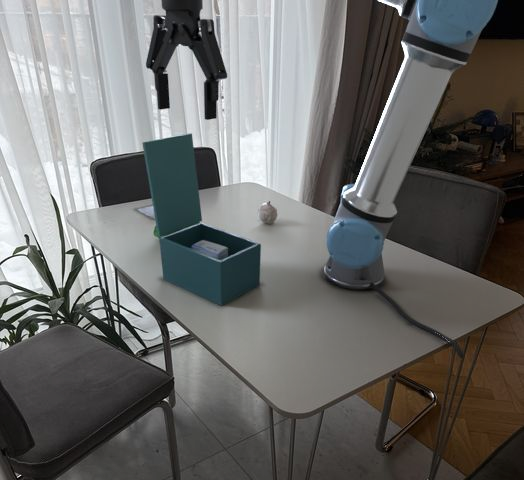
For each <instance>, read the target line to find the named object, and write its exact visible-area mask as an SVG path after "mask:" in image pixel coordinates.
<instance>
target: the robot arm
mask: <svg viewBox="0 0 524 480" xmlns="http://www.w3.org/2000/svg"><path fill="white" fill-rule="evenodd" d="M160 2H161V9H162V10H163V11H165V15H164V14H163V15H158V14H155V15H153V18H152V20H153V22H152V23H153V24H152V25H153V27H152V28H153V29H152V32H151V33H152V34H151V38H150V43H149V48H148V53H147V57H146V61H145V68H146V69H149V70H151V71H152V73H153V76H154V77H153V78H154V88H155V91H156V99H157V110H161V111H162V110H168V109H171V102H170V83H169V73H167V72H168V71H167V68H168V66H169V64H170V61H171V59H172V57H173V55H174V53H175V50H176V49H177V47H179V46H183V47H188V49H189V50H191V51H192V53H193V55H194V57H195V59H196V61H197V63H198V65H199V67H200V69H201V71H202V73H203V75H204V77H205V81H203V99H204V100H203V102H204V103H203V106H204V112H203V113H204V120H207V121H209V120H215V119H217V118H218V117H217V115H218V114H217V113H218V112H217V101H219V96H220V95H219V94H220V93H219V92H220V91H219V90H220V89H219V87H220V86H219V83H220V81H223V80H226V79H227V78H228V73H227V69H226V67H225V63H224V59H223V56H222V52H221V50H220V46H219V43H218V40H217V36H216V30H215V21H214V19H212V18H201V13H202V12H203V8H204V7H203V0H161V1H160ZM377 2H381V3H383V4H386V5H387V6H391V7H393V8H396V9H397V11H398V14H399V17H400V18H403V19H405V20H408V24H407V25H406V29H405V31H404V34H403V37H402V40H401V47H402V49H403V52H404V59H403V60H402V64H401V67H400V69H399V71H398V74H397V77H396V79H395V82H394V84H393V87H392V89H391V92H390V95H389V97H388V100H387V102H386V105H385V106H384V110H383V111H382V115H381V118H380V120H379V123H378V125H377V128H376V131H375V133H374V136H373V139H372V141H371V143H370V146H369V148H368V151H367V154H366V156H365V159H364V162H363V164H362V166H361V169H360V172H359V175H358V177H357V179H356V182H355V183H350V184H346V185H344V186H343V187H342V191H341V194H340V203H339V205H338V209H337V211H336V214H335V217H334V219H333V221H332V224H331V226H330V227H329V229H328V231H327V233H326V248H327V252H328V254H329V257H328V259H327V261H326V262H325V266H324V271H323V276H324V278H325V279H326V280H327V281H328V282H329V283H331V284H332V285H334V286H337V287H340V288H343V289H347V290H354V291H366V290H372V289H373V290H374V291H375V292H377V293H378V294H379V295H380V296H381V297H382V298H383V299H384V300H386V301H387V303H389V304H390V305H391V306H392V307H393V308H394V309H395V310H396V312H397V313H399V315H400V316H401V317H403V319H404V320H406V321H407V322H409V323H410V324H412V325H413V326H415V327H417V328H419V329H421V330H423V331H426V332H428V333H430V334H431V335H434V336H436V338H437V337H438V338H439V339H441V340H442V341H444V342H446V343H447V344H449V345H451V346H452V347H453V348H454V349H455V351H456V354H457V357H459V358H460V359H464V358H465V357H464V353H463V350H462V348H461V347H460V345H459V344H458V342H456V341H455V340H454V339H452V338H450V337H448V336H446V335H445V334H443V333H441V332H440V331H438V330H436V329H435V328H432V327H429V326H428V325H425V324H423V323H421V322H419V321H417V320H415V319H414V318H412V317H410V316H409V315H408V314H407V313H406V312H405V311H404V310H403V309H402V308H401V306H399V305H398V303H396V302H395V301H394V299H392V298H391V297H390V296H389V295H388V294H386V293H385V292H384V291H383V290H382V289H381V288H379V287H380V286H381V285H382V284H383V282H384V279H385V265H384V259H383V250H384V245H385V240H386V238H387V235H388V234H389V231H390V229H391V227H392V225H393V222H394V220H395V219H396V216H397V214H398V209H397V207H396V204H395V201H396V198H397V196H398V194H399V192H400V189H401V187H402V185H403V183H404V181H405V179H406V176H407V173H408V171H409V169H410V167H411V165H412V163H413V161H414V158H415V156H416V154H417V151H418V149H419V147H420V145H421V143H422V141H423V138H424V136H425V134H426V132H427V130H428V127H429V125H430V123H431V121H432V118H433V116H434V114H435V112H436V110H437V108H438V105H439V103H440V101H441V98H442V96H443V94H444V92H445V90H446V88H447V85H448V83H449V81H450V78H451V76H452V74H453V73H454V72H455V71H457V70H458V69H460V68H462V67H465V65H467V63H468V60H469V58H470V57H471V54H472V52H473V50H474V48H475V46H476V43H477V41H478V39H479V37H480V35H481V33H482V31H483V29H484V28H485V27H486V26H487V24H488V23H489V22H490V20H491V19H492V17H493V15H494V14H495V11H496V8H497V5H498V2H499V0H377ZM435 332H436V333H435ZM437 333H438V334H437ZM439 334H440V335H439ZM442 336H443V337H444V338H443V337H442ZM445 338H446V339H447V340H448V341H450V342H451V343H449V342H448V341H447V340H446V339H445Z"/></svg>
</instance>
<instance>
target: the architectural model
mask: <svg viewBox="0 0 524 480" xmlns="http://www.w3.org/2000/svg"><path fill="white" fill-rule="evenodd" d="M136 211H138V212H139V213H141V214H144V215H145V216H147V217H149V218H151V219H153V220H155V215H154V209H153V205H151V206H145V207H142V208H137V209H136Z"/></svg>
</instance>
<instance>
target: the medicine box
mask: <svg viewBox="0 0 524 480" xmlns="http://www.w3.org/2000/svg"><path fill="white" fill-rule="evenodd" d="M192 249H193V250H195V251H198V252H200V253H203V254H205V255H208V256H210V257H213V258H215V259H218V260H220V261H221V260H223V259H225V258H227V257H228V248H227V247H225V246H221V245H218V244H215V243H212V242H208V241H205V240H202V241H199V242H197V243H195V244H194V245H192Z"/></svg>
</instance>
